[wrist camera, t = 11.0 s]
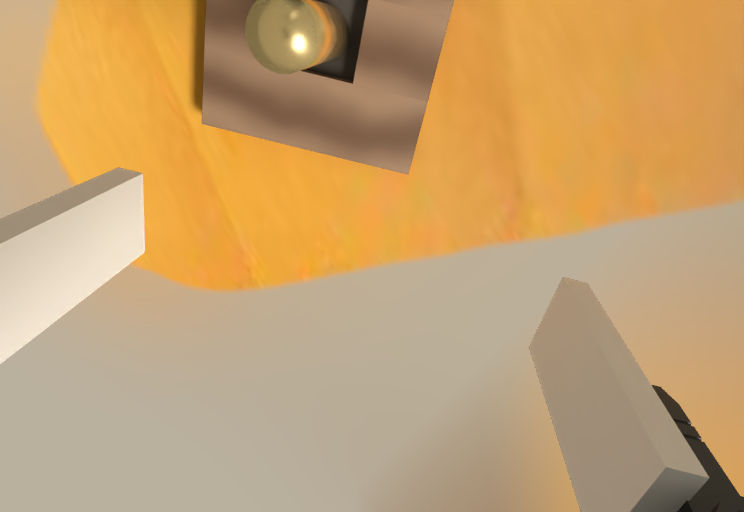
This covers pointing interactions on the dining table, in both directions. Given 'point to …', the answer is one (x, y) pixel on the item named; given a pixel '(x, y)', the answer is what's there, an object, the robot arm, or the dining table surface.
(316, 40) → the pin
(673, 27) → the dining table surface
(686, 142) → the dining table surface
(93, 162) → the dining table surface
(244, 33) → the board
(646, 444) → the robot arm
